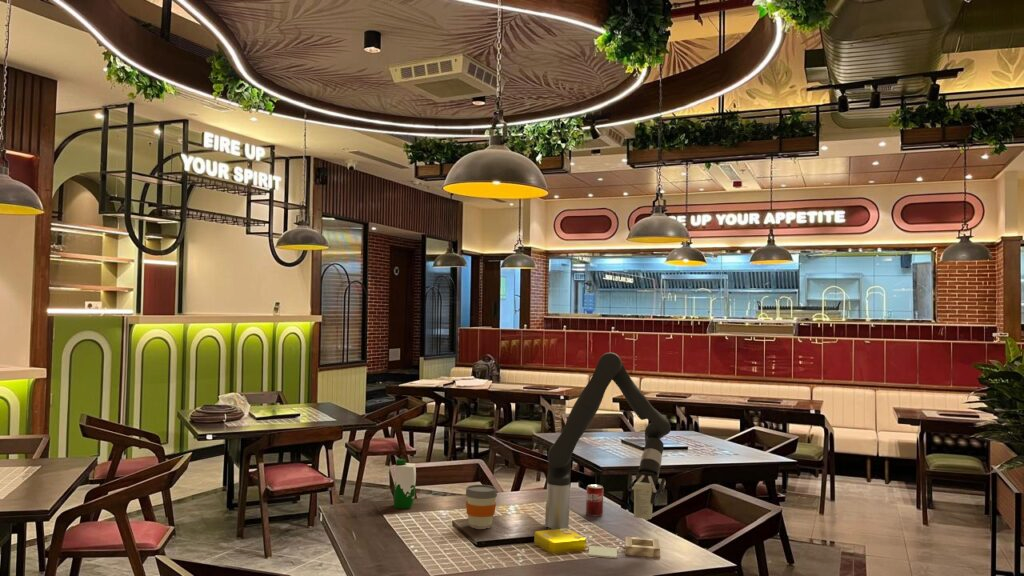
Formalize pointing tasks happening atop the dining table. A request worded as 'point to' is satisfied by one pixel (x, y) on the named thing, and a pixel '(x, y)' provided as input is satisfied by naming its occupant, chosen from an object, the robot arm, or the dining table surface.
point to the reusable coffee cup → (480, 504)
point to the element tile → (560, 540)
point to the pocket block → (642, 547)
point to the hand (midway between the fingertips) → (642, 501)
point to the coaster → (602, 552)
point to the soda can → (594, 500)
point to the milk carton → (404, 484)
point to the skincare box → (642, 500)
